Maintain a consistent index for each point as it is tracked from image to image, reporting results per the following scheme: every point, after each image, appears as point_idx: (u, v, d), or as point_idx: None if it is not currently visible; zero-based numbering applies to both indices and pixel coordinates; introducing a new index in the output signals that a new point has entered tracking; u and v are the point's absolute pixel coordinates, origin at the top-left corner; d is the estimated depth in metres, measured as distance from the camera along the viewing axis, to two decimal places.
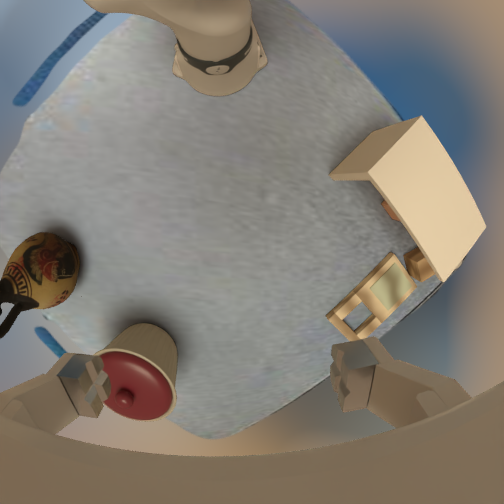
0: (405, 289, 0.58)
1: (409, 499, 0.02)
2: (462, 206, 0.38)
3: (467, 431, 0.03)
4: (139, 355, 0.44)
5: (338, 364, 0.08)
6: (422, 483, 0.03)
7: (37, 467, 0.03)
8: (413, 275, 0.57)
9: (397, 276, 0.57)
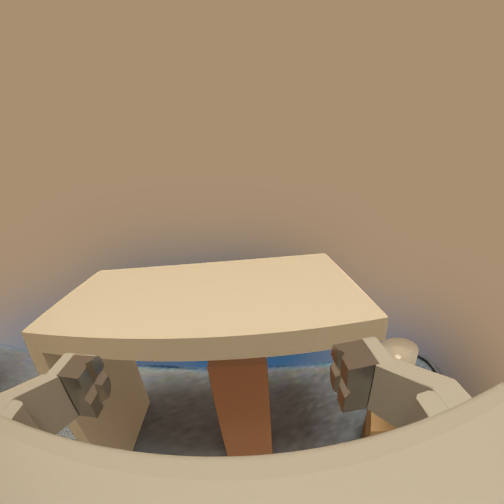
0: None
1: (409, 499, 0.02)
2: (250, 269, 0.25)
3: (467, 431, 0.03)
4: None
5: (338, 364, 0.08)
6: (422, 483, 0.03)
7: (37, 467, 0.03)
8: None
9: None
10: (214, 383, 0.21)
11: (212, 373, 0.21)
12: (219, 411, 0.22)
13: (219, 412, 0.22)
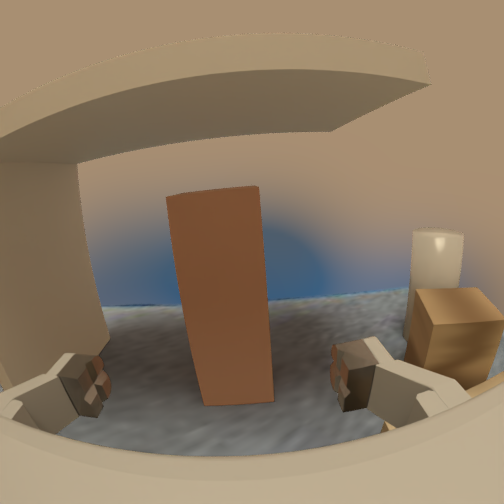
0: None
1: (409, 499, 0.02)
2: None
3: (467, 431, 0.03)
4: None
5: (338, 364, 0.08)
6: (422, 483, 0.03)
7: (37, 467, 0.03)
8: (483, 367, 0.12)
9: None
10: (176, 230, 0.14)
11: (173, 208, 0.14)
12: (184, 293, 0.15)
13: (183, 295, 0.15)
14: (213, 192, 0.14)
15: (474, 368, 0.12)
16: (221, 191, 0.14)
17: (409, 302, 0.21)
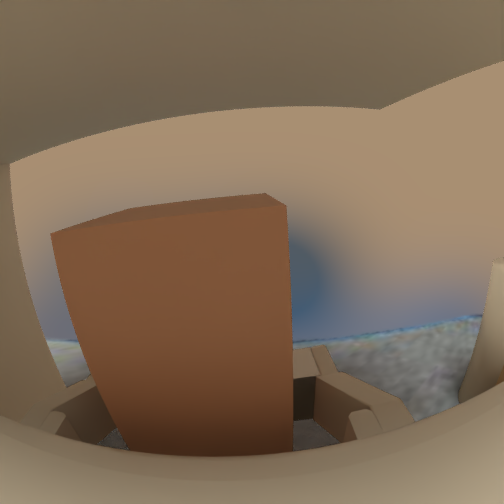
0: None
1: (409, 499, 0.02)
2: None
3: (467, 431, 0.03)
4: None
5: None
6: (422, 483, 0.03)
7: (37, 467, 0.03)
8: None
9: None
10: (80, 312, 0.05)
11: (67, 263, 0.05)
12: (123, 426, 0.06)
13: (124, 429, 0.06)
14: (156, 221, 0.05)
15: None
16: (178, 218, 0.05)
17: (477, 363, 0.12)
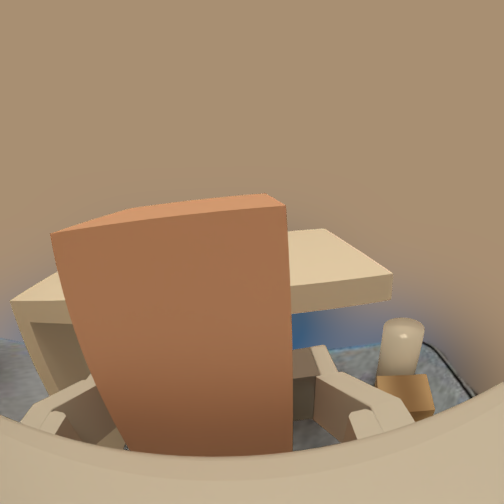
0: None
1: (409, 499, 0.02)
2: None
3: (467, 431, 0.03)
4: None
5: None
6: (422, 483, 0.03)
7: (37, 467, 0.03)
8: None
9: None
10: (80, 312, 0.05)
11: (67, 263, 0.05)
12: (123, 426, 0.06)
13: (123, 428, 0.06)
14: (155, 221, 0.05)
15: None
16: (177, 218, 0.05)
17: (377, 374, 0.27)
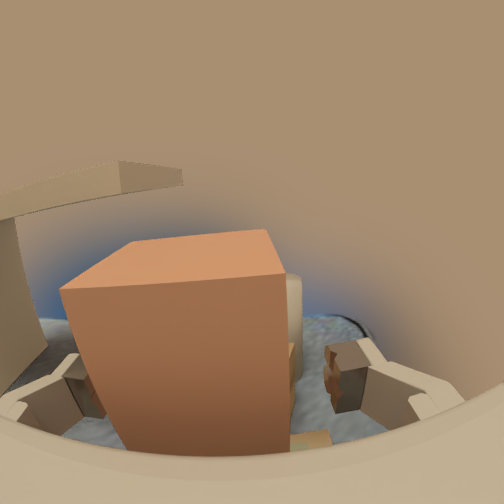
0: None
1: (408, 499, 0.02)
2: None
3: (467, 431, 0.03)
4: None
5: (331, 365, 0.08)
6: (422, 483, 0.03)
7: (37, 467, 0.03)
8: None
9: None
10: (92, 359, 0.05)
11: (77, 316, 0.05)
12: None
13: None
14: (161, 286, 0.05)
15: None
16: (182, 284, 0.05)
17: None
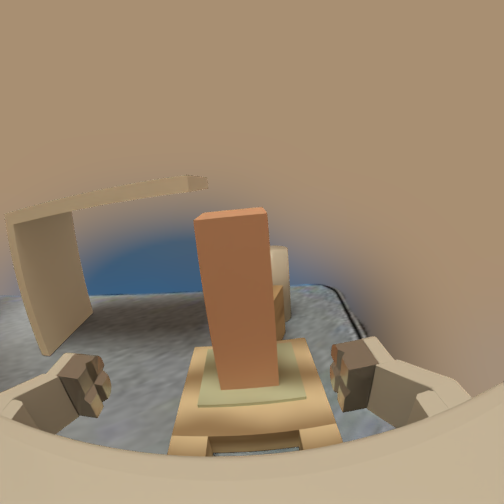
0: (285, 353, 0.25)
1: (409, 499, 0.02)
2: None
3: (467, 431, 0.03)
4: None
5: (338, 364, 0.08)
6: (422, 483, 0.03)
7: (37, 467, 0.03)
8: None
9: None
10: (201, 246, 0.18)
11: (199, 230, 0.18)
12: (207, 296, 0.19)
13: (207, 298, 0.19)
14: (231, 217, 0.17)
15: None
16: (237, 216, 0.18)
17: None
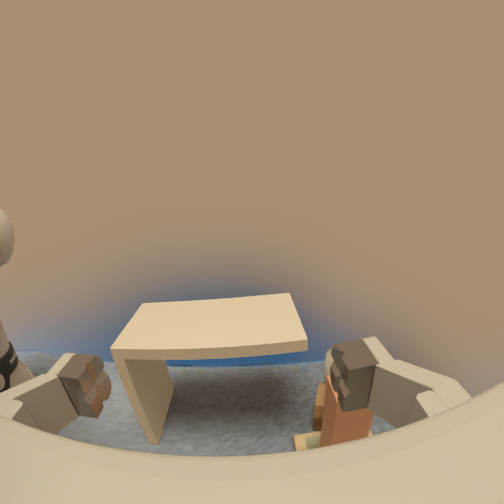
0: None
1: (409, 499, 0.02)
2: (241, 305, 0.41)
3: (467, 431, 0.03)
4: None
5: (338, 364, 0.08)
6: (422, 483, 0.03)
7: (37, 467, 0.03)
8: None
9: None
10: (338, 413, 0.25)
11: (339, 406, 0.24)
12: (334, 432, 0.26)
13: (334, 433, 0.26)
14: None
15: None
16: None
17: (324, 381, 0.44)
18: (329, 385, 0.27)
